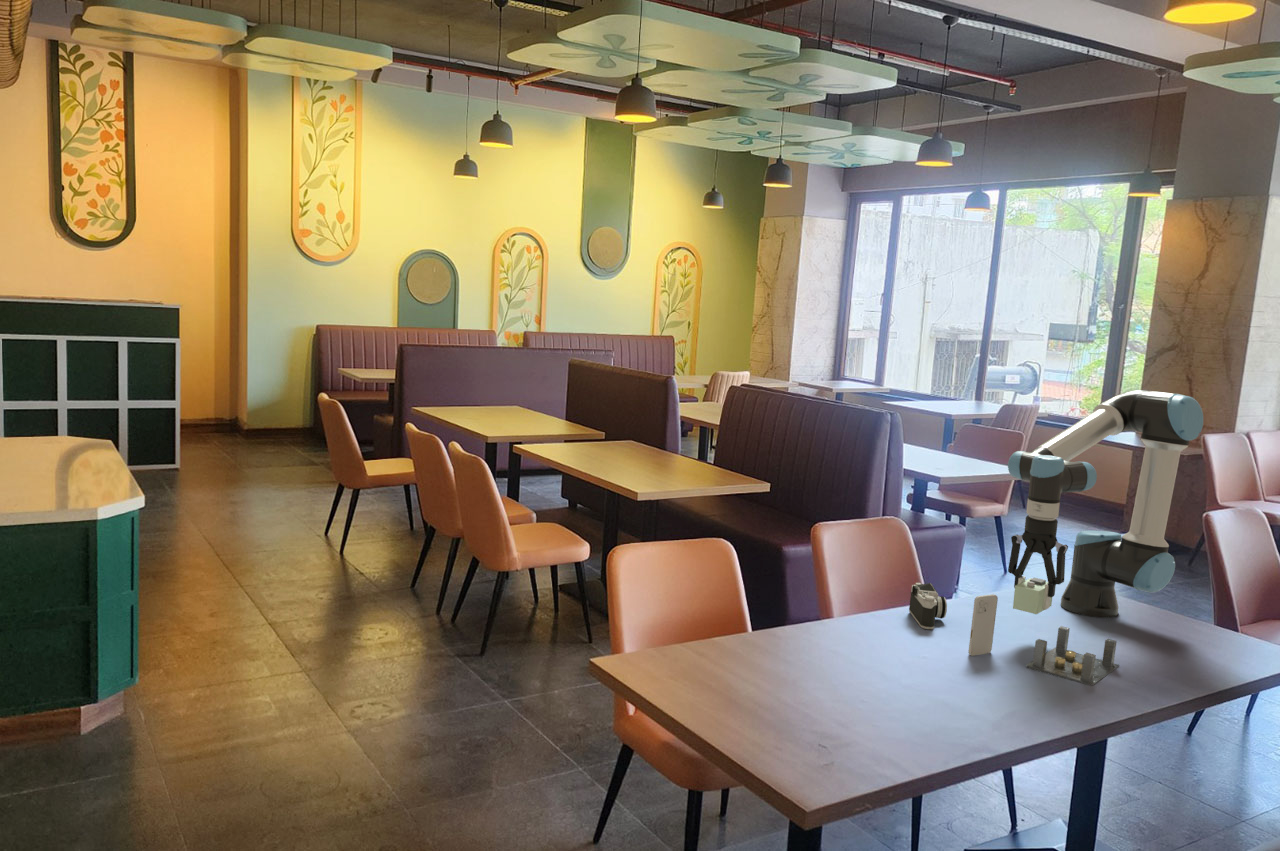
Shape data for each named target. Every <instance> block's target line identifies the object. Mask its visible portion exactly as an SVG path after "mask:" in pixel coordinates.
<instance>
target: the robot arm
mask: <svg viewBox="0 0 1280 851" xmlns="http://www.w3.org/2000/svg"><path fill="white" fill-rule="evenodd" d="M1203 427H1204V412H1203V410H1202V406H1201V405H1200V403H1199V402H1198V401H1197V400H1196V399H1195V398H1194V397H1193V396H1188V395H1184V394H1181V393H1170V392H1162V391H1155V390H1154V391H1153V390H1149V389H1148V390H1147V389H1134V390H1130V391H1124V392H1123V393H1119V394H1116V395H1114V396H1112V397H1110V398H1108V399H1106V400H1104V401H1102V402H1101V403H1099V404H1097V405H1096V406H1095V407H1094V408H1093V410H1092V412H1091V413H1090V414H1089V415H1087V416H1085V417H1083V418H1082V419H1081V420H1079V421H1077V422H1075V423H1074V424H1072V425H1070V426H1069V427H1067V428H1065V429H1064V430H1063V431H1061V432H1059V433H1058V434H1056V435H1054V436H1053V437H1052V438H1050V439H1049V440H1047V441H1045V442H1044V443H1042V444H1041V445H1039V446H1037V447H1036V448H1034V449H1033V450H1031V451H1025V450H1017V451H1014V452H1013V453H1012V455H1011V456H1009V459H1008V462H1007V468H1008V469H1007V470H1008V473H1009V474H1010V476H1011V477H1013V478H1014V479H1019V480H1021V481H1022V482H1029V483H1028V484H1029V487H1028V488H1029V489H1028V494H1027V503H1026V514H1027V515H1026V516H1025V522H1024V523H1025V524H1024V531H1023V532H1022V534H1020V535H1019V534H1015V535H1012V536H1011V537H1010V539H1011V552H1010V557H1009V562H1008V569H1007V573H1009V574H1012V575H1013V576H1014V584H1013V587H1014V589H1015V585H1017V584H1019V583H1022V582H1024V581H1025V580H1026V576H1024V574H1025V571H1026V568H1027V566H1028V564H1029V562H1030V560H1031V559H1032V558H1031V557H1032V556H1033V554H1034V553H1037V554H1039V555H1041V558H1042V559H1043V563H1044V568H1045V574H1046V579H1047V582H1048V583H1047V584H1045V590H1044V599H1043V610H1044V611H1046V610H1048V609H1050V607H1049V606H1050V597H1051V598H1052V599H1053V597H1055V594H1056V588H1057V587H1056V585H1061V584H1063V583H1064V582H1065V574H1066V573H1065V571H1066V554H1067V551H1068V549H1069V545H1068V544H1063V543H1061V542H1059V541H1058V539H1057V530H1058V525H1059V524H1058V519H1057V518H1059V515H1060V512H1059V511H1060V502H1061V494H1062V493H1063V494H1065V493H1073V492H1075V493H1077V492H1078V493H1080V492H1084V491H1088V490H1091V489H1092V488H1093V487H1094V486H1095V484H1096V482H1097V478H1098V474H1097V471H1096V468H1095V467H1094V466H1093V465H1092V464H1091V463H1090V462H1087V461H1079V460H1077V461H1071V460H1073V459H1075V458H1076V457H1078V456H1080V455H1081V454H1082V453H1084V452H1085V451H1087V450H1089V449H1090V448H1092V447H1093V446H1095V445H1096V444H1098V443H1100V442H1101V441H1103V440H1104V439H1107V437H1109V436H1117V435H1119V434H1120V433H1121V434H1122V433H1123V432H1125V431H1127V432H1129V431H1134V432H1138V433H1141V434H1140V435H1141V436H1140V440H1141V442H1142V443H1143V445H1144V446H1145V447H1144V452H1143V459H1142V463H1141V468H1140V473H1139V479H1138V484H1137V488H1136V492H1135V493H1136V494H1135V500H1134V505H1133V506H1134V507H1133V509H1132V510H1133V511H1132V516H1131V519H1130V520H1131V521H1130V526H1129V531H1128V532H1126V533H1124V534H1123V535H1122V534H1121V533H1119V532H1116V531H1115V532H1114V531H1108V530H1107V531H1106V530H1083V531H1079V532H1078V533H1077V534H1076V537H1075V541H1074V544H1073V555H1072V556H1073V557H1072V563H1071V572H1070V579H1069V582H1068V583H1067V586H1066V588H1065V589H1064V592H1063V594H1062V595H1061V599H1060V606H1061V607H1062V608H1063V609H1065V610H1067V611H1069V612H1071V613H1074V614H1078V615H1083V616H1085V617H1092V618H1114V617H1116V616H1118V614H1119V603H1118V598H1117V594H1116V589H1115V585H1116V583H1117V584H1121V585H1124V586H1126V587H1131V588H1133V589H1135V590H1137V591H1143V592H1146V593H1158V592H1159V591H1161V590H1163V589H1164V588H1165V587H1166V586H1167V585H1169V583H1170V581H1171V580H1172V578H1173V575H1174V574H1175V569H1176V561H1175V558H1174V556H1173V555H1171V554H1170V553H1169V552H1168V551H1169V547H1170V545H1169V543H1168V542H1167V540H1165V536H1166V535H1165V533H1166V531H1167V530H1166V529H1167V523H1168V521H1169V515H1170V509H1171V504H1172V500H1173V492H1174V489H1175V484H1176V478H1177V477H1176V476H1177V473H1178V468H1179V464H1180V463H1179V462H1180V458H1181V457H1180V456H1181V453H1182V451H1184V450H1185V449H1187V448H1188V447H1189V446H1190V445H1189V444H1190V442H1191V441H1193V440H1196V439H1197V438H1198V437H1199V436H1200V434H1201V432H1202V430H1203ZM1023 542H1024V544H1025V546H1026V547H1025V549H1024V552H1023V554H1022V557H1021V560H1020V562H1019V555H1020V550H1021V545H1022V544H1021V543H1023ZM1054 548H1055V550H1056V552H1057V554H1056V566H1055V567H1056V570H1055V567H1054V562H1053V557H1052V556H1053V554H1052V553H1053V552H1052V550H1053V549H1054ZM1018 562H1019V563H1018ZM1018 564H1019V565H1018Z"/></svg>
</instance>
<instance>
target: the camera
mask: <svg viewBox="0 0 1280 851" xmlns="http://www.w3.org/2000/svg"><path fill="white" fill-rule="evenodd" d="M908 611H909V613H910V614H911V616H912V618H913V619H914V620H915V621H916V622H917V624H918V625H919V627H920V628H922V629H926V630H934V629H935V620H936V618H937V619H944V618H946V615H947V613H948V612H947V611H948V603H947V598H946V597H945V596H942V595H939V593H938V591H937V590H936V588H935V587H934V586H933V584H932V583H931V582H929V583H923V584H922V583H921V582H915V583H914V584H911V589H910V599H909V607H908Z"/></svg>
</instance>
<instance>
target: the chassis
mask: <svg viewBox="0 0 1280 851" xmlns="http://www.w3.org/2000/svg"><path fill="white" fill-rule="evenodd" d="M1057 629H1058V630H1057V637H1056V645H1055V647H1053V648H1052V649H1050V650H1049V651H1047V649H1048V648H1047V647H1048V640H1045V639H1040V638H1039V639H1036V640H1035V642H1034V643H1035V644H1034V651H1033V659H1032V661H1030V662H1028V663H1027V664H1026V669H1031V670H1034V671H1038V672H1040V671H1041V673H1045V674H1048V673H1049V675H1051V674H1052V676H1056V677H1058V676H1059V678H1062V679H1066V680H1070V681H1073V682H1077V683H1080V684H1085V685H1087V686H1091V687H1093V686H1094V685H1096V684H1097V683H1099V682H1100V681H1101V680H1102V679H1104V678H1105V677H1107V676H1108V675H1109V674H1110V673H1112V672H1113V671H1114V670H1116V669H1117V668H1118V667H1120V665H1119V664H1117V663H1115V657H1116V648H1117V642H1118V641H1117V640H1115V639H1111V638H1107V639H1105V640H1104V645H1103V646H1104V647H1103V655H1102V659H1099V658H1097V657H1096V656H1097V655H1096V654H1094V653H1090V652H1085V653H1083V654H1082V653H1078V652H1076V651H1074V650H1068V644H1069V637H1070V636H1069V635H1070V627H1067V626H1062V625H1061V626H1059V627H1058V628H1057Z"/></svg>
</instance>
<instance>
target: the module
mask: <svg viewBox="0 0 1280 851" xmlns="http://www.w3.org/2000/svg"><path fill="white" fill-rule="evenodd" d="M1047 583H1048V581H1047V580H1046V579H1043V578H1042V579H1041V578H1038V577H1033V578H1031V577H1030V578H1028V579H1025V581H1024V582H1022V583H1019V584H1017V585H1015V588H1014V592H1013V594H1014V595H1013V602H1012V609H1014V610H1018V611H1021V612H1026V613H1030V614H1033V615H1038V614H1040V613H1041V612H1043V611H1045V610H1043V599H1044V590H1045V584H1047ZM1052 602H1053V597H1052V598H1051V597H1050V606H1049V608H1050V607H1052V606H1053V605H1052V604H1053V603H1052Z"/></svg>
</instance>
